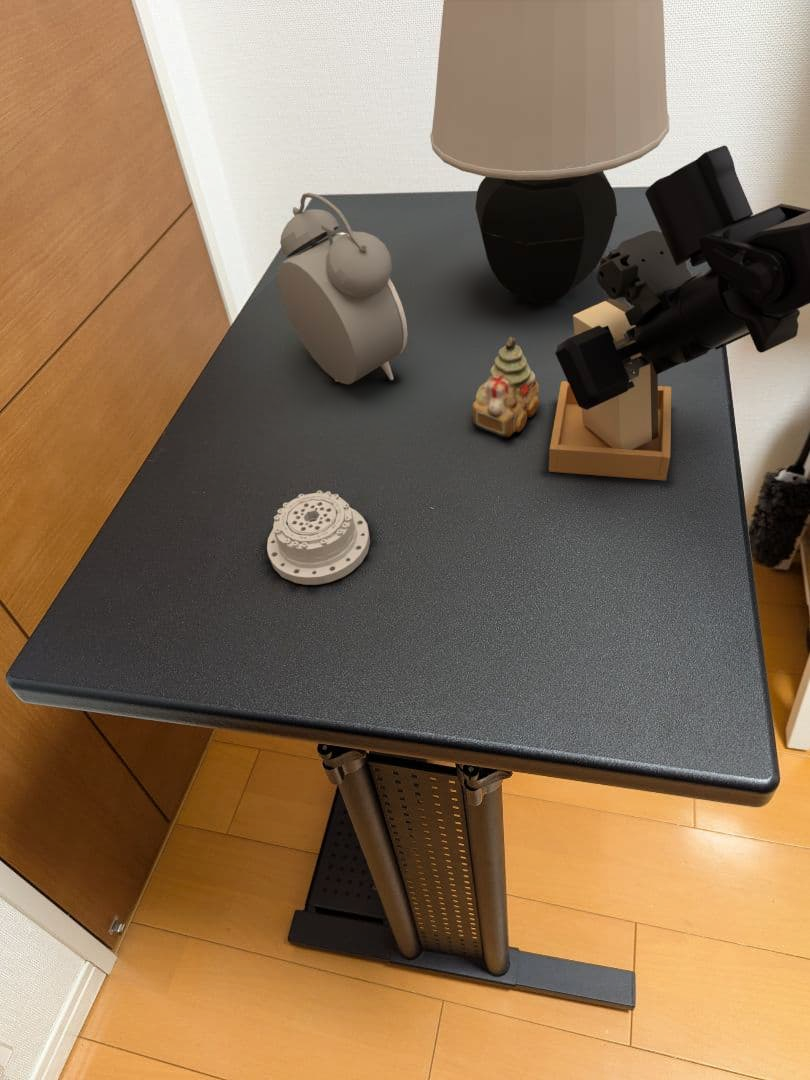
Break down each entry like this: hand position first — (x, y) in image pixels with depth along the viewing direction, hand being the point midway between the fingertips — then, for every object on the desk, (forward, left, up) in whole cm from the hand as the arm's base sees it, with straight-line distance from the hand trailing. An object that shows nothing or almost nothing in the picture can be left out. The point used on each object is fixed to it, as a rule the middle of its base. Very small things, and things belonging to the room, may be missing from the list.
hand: (608, 365), depth 76 cm
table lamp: (+10, -29, -9) cm, 31 cm away
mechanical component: (+26, +20, -9) cm, 34 cm away
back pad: (-2, +1, -7) cm, 8 cm away
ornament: (+11, -2, -9) cm, 14 cm away
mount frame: (-1, +1, -9) cm, 9 cm away
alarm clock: (+31, -9, -9) cm, 33 cm away
